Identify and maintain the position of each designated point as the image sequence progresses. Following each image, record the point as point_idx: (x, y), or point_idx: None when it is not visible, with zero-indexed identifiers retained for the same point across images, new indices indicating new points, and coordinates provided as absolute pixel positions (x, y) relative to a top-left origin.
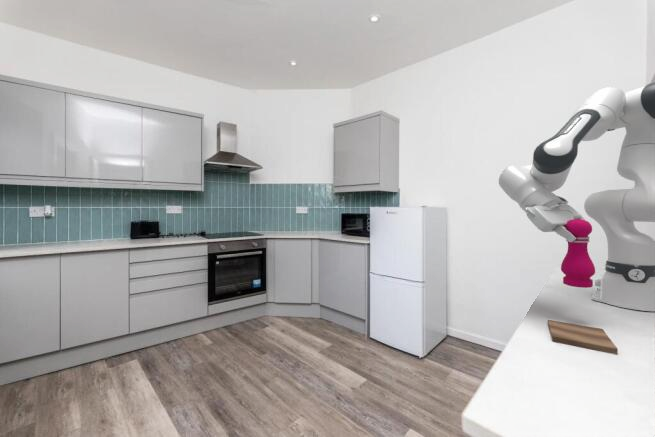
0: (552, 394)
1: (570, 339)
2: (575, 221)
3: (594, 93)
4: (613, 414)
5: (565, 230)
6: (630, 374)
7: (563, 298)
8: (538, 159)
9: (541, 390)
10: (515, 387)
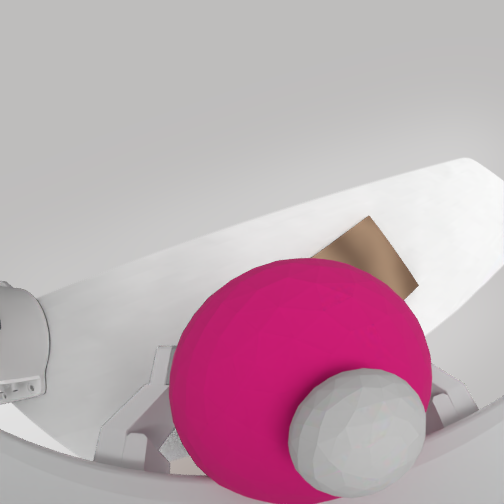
0: (496, 208)
1: (404, 265)
2: (425, 367)
3: None
4: (475, 173)
5: (448, 374)
6: (407, 188)
7: (88, 436)
8: None
9: (499, 215)
10: None
